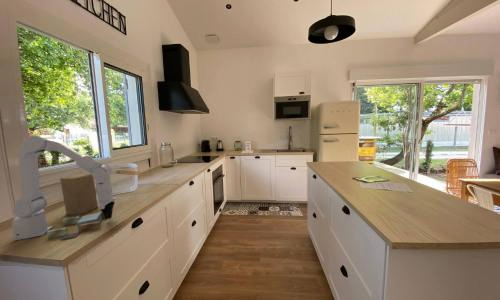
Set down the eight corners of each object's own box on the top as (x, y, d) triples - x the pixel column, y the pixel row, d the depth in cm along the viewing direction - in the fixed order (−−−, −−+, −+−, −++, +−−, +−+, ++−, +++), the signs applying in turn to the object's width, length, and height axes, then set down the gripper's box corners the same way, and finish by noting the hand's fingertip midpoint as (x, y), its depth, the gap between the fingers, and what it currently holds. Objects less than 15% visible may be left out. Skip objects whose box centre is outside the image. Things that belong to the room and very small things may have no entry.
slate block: (78, 231, 88) (77, 222, 87) (84, 223, 95) (82, 215, 95) (97, 227, 91) (96, 218, 90) (102, 220, 98) (100, 212, 98)
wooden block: (80, 214, 105) (74, 178, 103) (65, 214, 107) (59, 178, 105) (98, 207, 115) (93, 173, 113) (84, 206, 117) (79, 173, 115)
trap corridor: (41, 244, 78) (40, 237, 78) (69, 220, 99) (68, 215, 98) (96, 233, 85) (95, 226, 84) (111, 213, 105) (110, 207, 105)
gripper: (110, 193, 88) (114, 222, 90) (118, 185, 102) (122, 210, 103) (90, 196, 86) (95, 226, 87) (102, 187, 99) (106, 213, 101)
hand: (108, 218), depth 95 cm, fingers closed
